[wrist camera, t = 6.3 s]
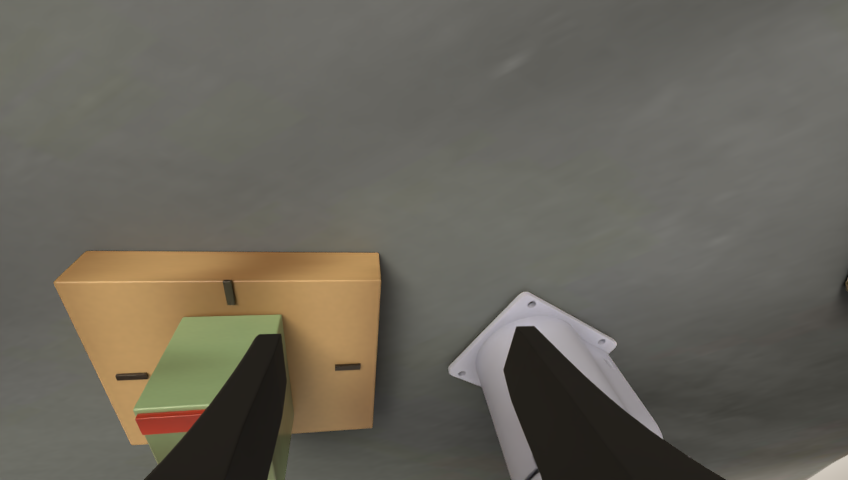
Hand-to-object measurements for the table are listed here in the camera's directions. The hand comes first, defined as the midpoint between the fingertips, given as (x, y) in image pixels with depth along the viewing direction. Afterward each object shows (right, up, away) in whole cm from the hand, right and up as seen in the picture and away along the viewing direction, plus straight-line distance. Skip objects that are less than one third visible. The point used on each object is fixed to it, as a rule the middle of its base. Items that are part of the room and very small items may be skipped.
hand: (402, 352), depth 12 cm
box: (-9, -3, +9) cm, 13 cm away
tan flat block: (-9, -2, +11) cm, 15 cm away
